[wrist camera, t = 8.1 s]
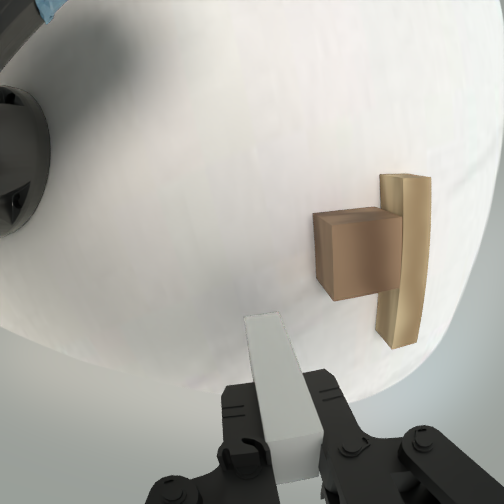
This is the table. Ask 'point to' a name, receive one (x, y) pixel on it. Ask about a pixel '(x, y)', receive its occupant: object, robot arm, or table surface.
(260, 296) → the table surface
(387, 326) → the tan wooden bar
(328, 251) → the block
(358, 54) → the table surface
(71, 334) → the table surface
